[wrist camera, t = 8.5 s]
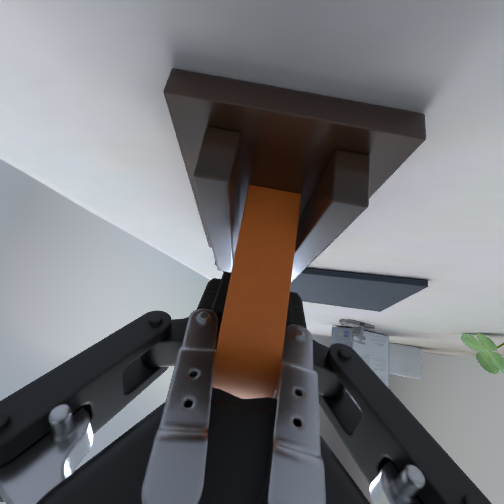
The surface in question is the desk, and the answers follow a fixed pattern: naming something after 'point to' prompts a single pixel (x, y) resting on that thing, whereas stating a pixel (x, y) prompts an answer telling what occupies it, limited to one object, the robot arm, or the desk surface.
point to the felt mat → (353, 289)
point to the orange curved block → (258, 295)
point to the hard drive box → (367, 350)
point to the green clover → (485, 352)
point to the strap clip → (356, 328)
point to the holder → (283, 155)
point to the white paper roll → (405, 361)
